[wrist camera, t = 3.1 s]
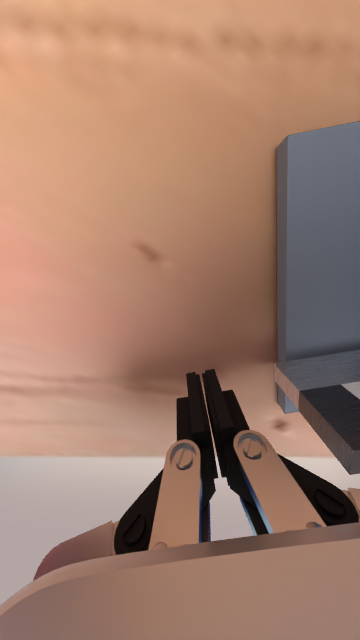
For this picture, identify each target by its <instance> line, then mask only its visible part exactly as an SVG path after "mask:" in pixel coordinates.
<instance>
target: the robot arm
mask: <svg viewBox="0 0 360 640" xmlns="http://www.w3.org/2000/svg"><path fill="white" fill-rule="evenodd" d="M186 376H187V386H188V397H184V398H178V399H177V442H175V443H174V444H173V445H171V447H170V448H169V450H168V452H167V455H166V459H165V465H164V469H163V470H162V471H161V472H160V473H159V474H158V476H156V478H155V479H154V480H153V481H152V482H151V483H150V485H149V486H148V487H147V488H146V489H145V490H144V492H143V493H142V494H141V495H140V496H139V497H138V499H137V500H136V501H135V502H134V503H133V504H132V506H131V507H130V508H129V509H128V510H127V511H126V512H125V514H124V515H123V517H122V518H121V519H120V521H117V522H115V523H113V522H112V521H110V522H108V523H106V524H103V525H101V526H99V527H97V528H94V529H92V530H90V531H87V532H85V533H83V534H81V535H78V536H76V537H74V538H72V539H69V540H67V541H65V542H63V543H60V544H59V545H57V546H56V547H54V548H53V549H52V550H51V551H50V552H49V553H48V554H47V555H46V556H45V558H44V559H43V561H42V563H41V564H40V566H39V567H38V570H37V572H36V574H35V577H34V579H33V582H31V583H29V584H28V585H26V586H25V587H23V588H22V589H21V590H20V591H18V592H16V593H15V594H14V595H12V596H11V597H10V598H9V599H7V600H6V601H5V602H4V603H3V604H2V605H0V640H360V489H355V488H348V491H345V490H340V489H339V488H337V487H336V486H334V485H333V484H331V483H329V482H328V481H326V480H324V479H322V478H320V477H319V476H317V475H315V474H313V473H311V472H310V471H308V470H306V469H304V468H302V467H301V466H299V465H297V464H295V463H293V462H292V461H290V460H288V459H286V458H284V457H283V456H281V455H279V454H277V453H276V451H275V450H274V449H273V447H272V446H271V444H270V443H269V441H268V440H267V439H266V438H265V437H264V436H263V435H262V434H260V433H259V432H256V431H253V430H250V429H249V426H248V424H247V422H246V419H245V417H244V415H243V413H242V410H241V408H240V406H239V403H238V401H237V399H236V396H235V394H234V392H233V390H228V391H222V390H221V387H220V384H219V381H218V379H217V376H216V373H215V370H214V369H211V370H205V373H202V377H203V383H204V390H205V396H206V402H207V409H208V414H209V419H210V424H211V428H212V433H213V438H214V443H215V447H216V452H217V457H218V461H219V466H220V470H221V476H222V477H226V478H227V482H228V486H229V485H230V489H232V490H233V491H234V492H235V493H237V494H238V495H239V496H240V501H241V503H242V506H243V508H244V511H245V513H246V516H247V518H248V521H249V523H250V526H251V529H252V531H253V534H254V536H249V537H242V538H234V539H226V540H219V541H212V542H211V532H210V531H211V529H210V502H209V500H210V499H211V497H212V496H213V494H214V492H215V491H216V490H215V484H214V479H215V478H218V474H217V467H216V461H215V455H214V448H213V442H212V436H211V430H210V425H209V420H208V415H207V410H206V405H205V400H204V395H203V390H202V385H201V381H200V376H199V374H195V372H193V373H187V374H186Z"/></svg>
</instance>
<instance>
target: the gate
mask: <svg viewBox="0 0 360 640" xmlns="http://www.w3.org/2000/svg"><path fill="white" fill-rule="evenodd" d="M274 380H275V381H276V383H277V384H278V385H279V386H280V388H281V389H282V390H283V391H284V393H285V394H286V395H287V396H288V398H289V399H290V400H291V401H292V403H293V404H294V405H295V407H296V408H297V409H298V410H299V412H300V413H301V414H302V415H303V417H304V418H305V419H306V420H307V422H308V423H309V424H310V425H311V427H312V428H313V429H314V430H315V432H316V433H317V434H318V435H319V437H320V438H321V439H322V440H323V442H324V443H325V444H326V445H327V447H328V448H329V449H330V451H331V452H332V453H333V454H334V456H335V457H336V458H337V459H338V461H339V462H340V463H341V464H342V466H343V467H344V468H345V469H346V471H347V472H348V473H349V474H350V475H352V474H359V473H360V350H353V351H347V352H341V353H335V354H328V355H322V356H316V357H310V358H304V359H297V360H291V361H285V362H279V363H274Z"/></svg>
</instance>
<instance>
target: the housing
mask: <svg viewBox="0 0 360 640" xmlns="http://www.w3.org/2000/svg"><path fill="white" fill-rule="evenodd" d="M277 322H278V363H279V362H285V361H291V360H297V359H304V358H310V357H316V356H322V355H328V354H335V353H341V352H347V351H353V350H360V121H357V122H352V123H347V124H343V125H338V126H333V127H328V128H323V129H318V130H313V131H308V132H303V133H298V134H293V135H288V136H287V137H286V138H285V139H284V140H283V141H282V142H281V143H280V144H279V146H278V147H277ZM278 404H279V406H280V407H281V408H282V410H283V411H284V413H285V414H286V413H292V412H299V410H298V409H297V408H296V407H295V405H294V404H293V403H292V401H291V400H290V399H289V398H288V396H287V395H286V394H285V393H284V391H283V390H282V389H281V388H280V386H279V385H278Z"/></svg>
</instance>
